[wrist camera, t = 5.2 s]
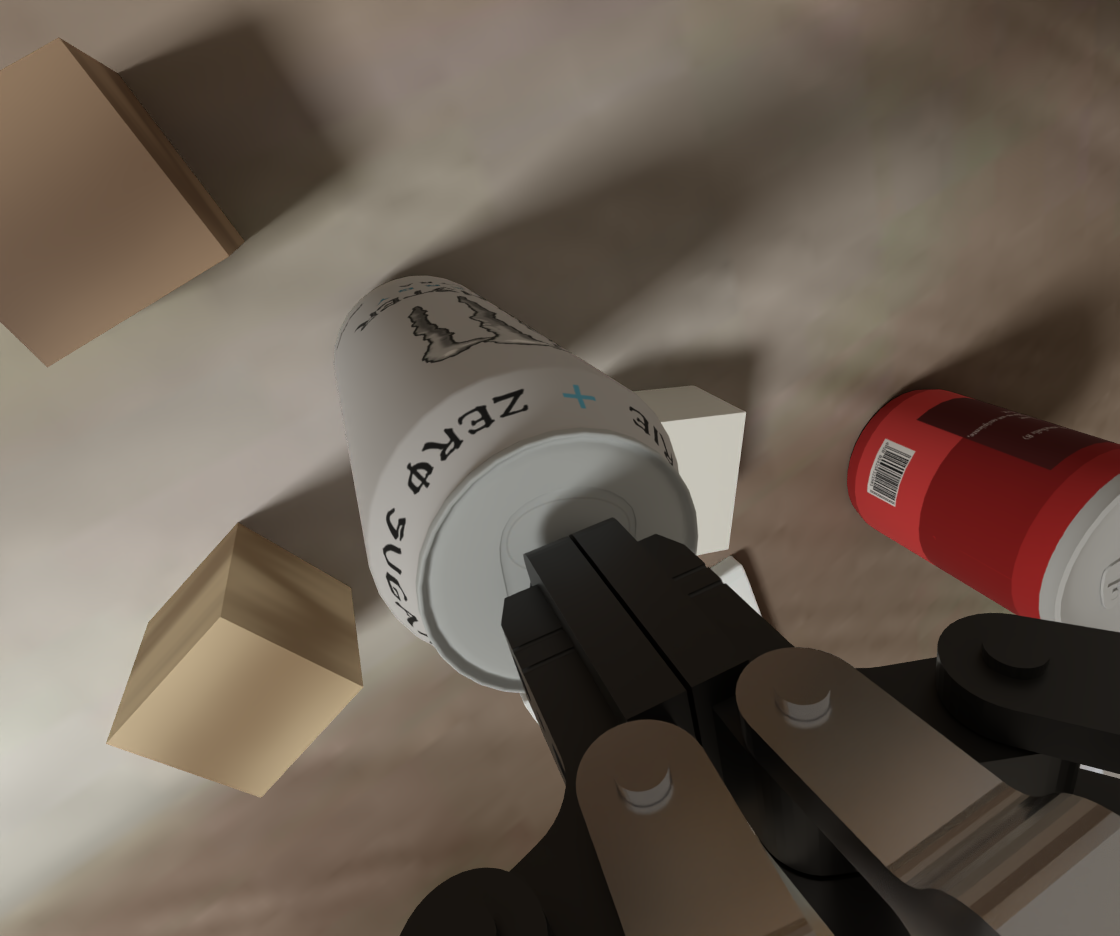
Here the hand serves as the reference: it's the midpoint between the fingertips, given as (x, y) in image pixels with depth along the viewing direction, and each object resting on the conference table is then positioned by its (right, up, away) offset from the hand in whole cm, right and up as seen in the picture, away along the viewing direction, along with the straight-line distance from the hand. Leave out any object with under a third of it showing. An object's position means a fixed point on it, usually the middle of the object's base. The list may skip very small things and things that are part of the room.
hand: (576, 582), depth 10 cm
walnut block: (-13, +9, +9) cm, 18 cm away
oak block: (-12, -3, +15) cm, 19 cm away
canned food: (+18, +2, +24) cm, 30 cm away
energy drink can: (-5, +6, +13) cm, 16 cm away
